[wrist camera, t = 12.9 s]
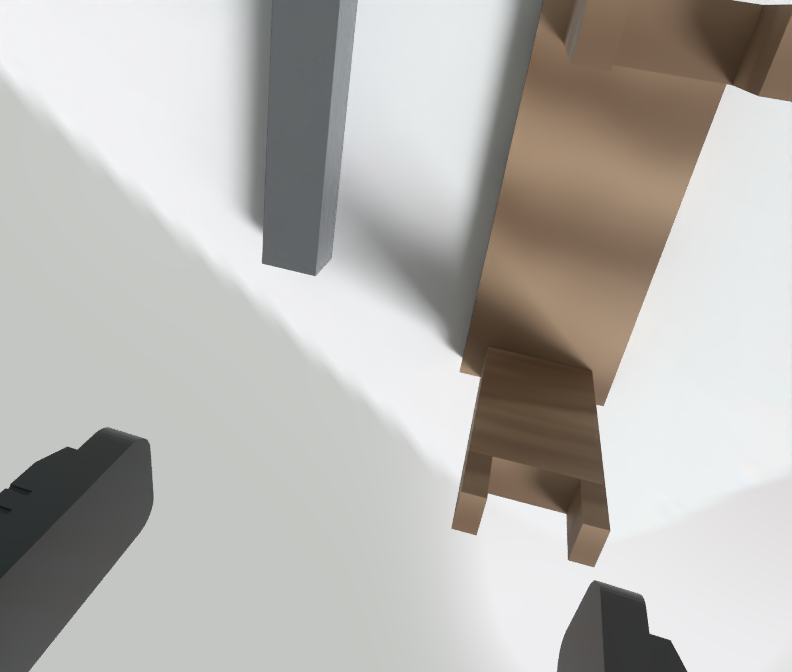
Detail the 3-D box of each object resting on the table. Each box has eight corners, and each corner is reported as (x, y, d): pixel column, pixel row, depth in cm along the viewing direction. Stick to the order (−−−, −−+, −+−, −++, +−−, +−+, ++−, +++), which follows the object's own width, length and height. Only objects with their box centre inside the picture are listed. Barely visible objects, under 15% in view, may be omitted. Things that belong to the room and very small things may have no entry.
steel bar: (310, -208, 25) (281, -234, 22) (380, -199, 25) (360, -224, 22) (283, 244, 35) (262, 263, 32) (333, 256, 34) (315, 276, 32)
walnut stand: (547, -15, 26) (545, -34, 15) (742, 14, 25) (898, 19, 14) (462, 358, 35) (422, 520, 24) (601, 391, 34) (625, 575, 23)
